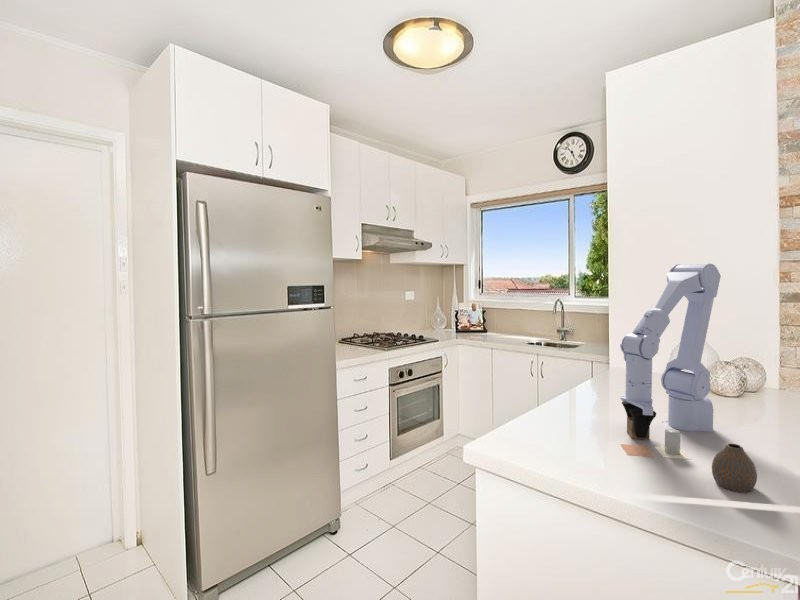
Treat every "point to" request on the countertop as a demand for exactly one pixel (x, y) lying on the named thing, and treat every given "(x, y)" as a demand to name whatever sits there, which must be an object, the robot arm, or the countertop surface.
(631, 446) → the mat
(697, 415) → the robot arm
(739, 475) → the vase
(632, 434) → the walnut block
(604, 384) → the countertop surface
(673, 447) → the grey peg
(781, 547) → the countertop surface
